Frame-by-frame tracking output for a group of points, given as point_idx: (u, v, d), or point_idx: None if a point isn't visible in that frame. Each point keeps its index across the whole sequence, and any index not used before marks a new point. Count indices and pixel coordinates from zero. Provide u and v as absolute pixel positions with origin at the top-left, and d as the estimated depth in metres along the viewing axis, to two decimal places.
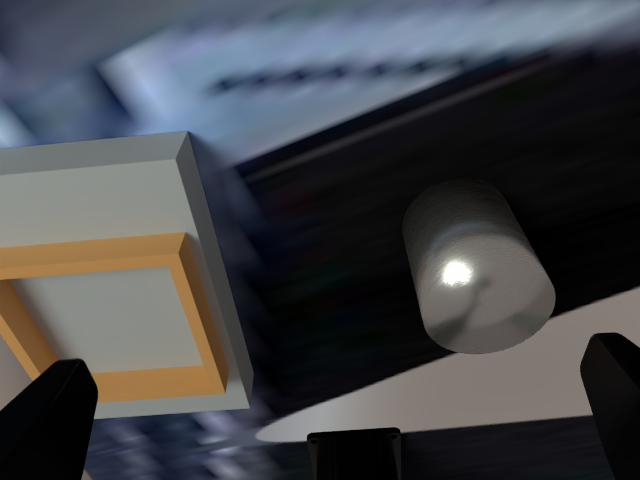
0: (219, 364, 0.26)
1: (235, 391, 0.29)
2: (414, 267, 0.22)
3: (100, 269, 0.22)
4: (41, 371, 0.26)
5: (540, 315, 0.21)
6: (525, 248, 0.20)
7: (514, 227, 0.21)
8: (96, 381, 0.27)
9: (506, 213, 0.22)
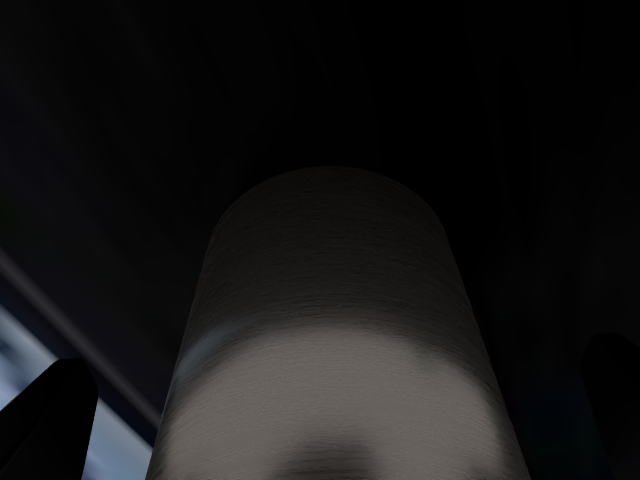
0: None
1: None
2: None
3: None
4: None
5: None
6: (164, 435, 0.06)
7: (187, 348, 0.08)
8: None
9: (198, 301, 0.08)
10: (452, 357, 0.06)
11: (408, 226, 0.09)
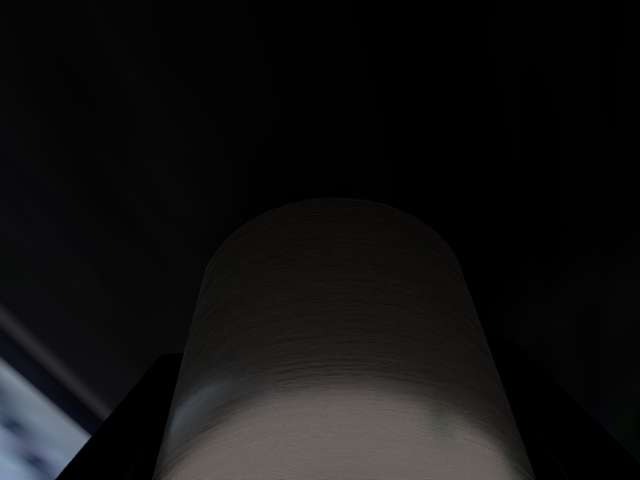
0: None
1: None
2: None
3: None
4: None
5: None
6: None
7: (176, 413, 0.07)
8: None
9: (190, 353, 0.07)
10: (479, 436, 0.06)
11: (423, 268, 0.08)
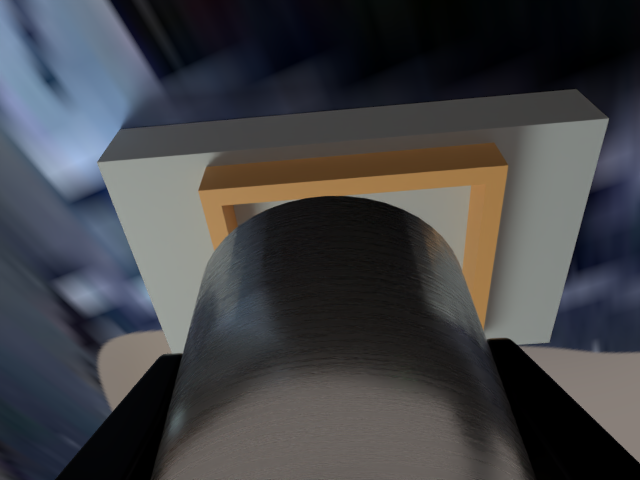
0: (444, 163, 0.16)
1: (552, 138, 0.17)
2: None
3: None
4: None
5: None
6: None
7: (175, 411, 0.07)
8: None
9: (190, 352, 0.07)
10: (478, 434, 0.06)
11: (423, 267, 0.08)
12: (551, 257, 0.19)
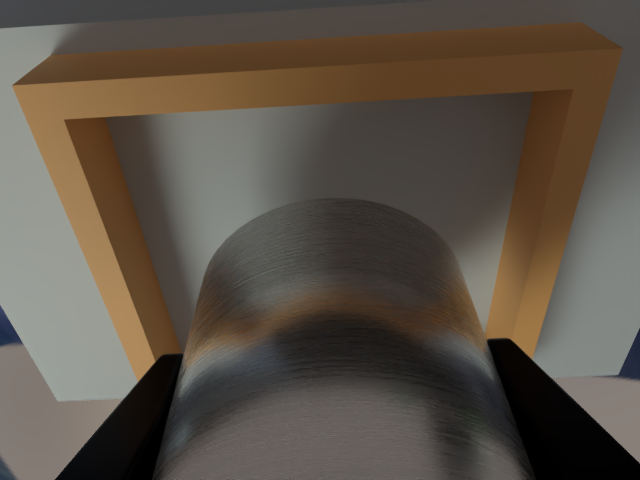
0: (494, 46, 0.08)
1: None
2: None
3: (109, 256, 0.10)
4: None
5: None
6: None
7: (176, 413, 0.07)
8: (496, 326, 0.13)
9: (190, 354, 0.07)
10: (479, 436, 0.06)
11: (423, 269, 0.08)
12: None
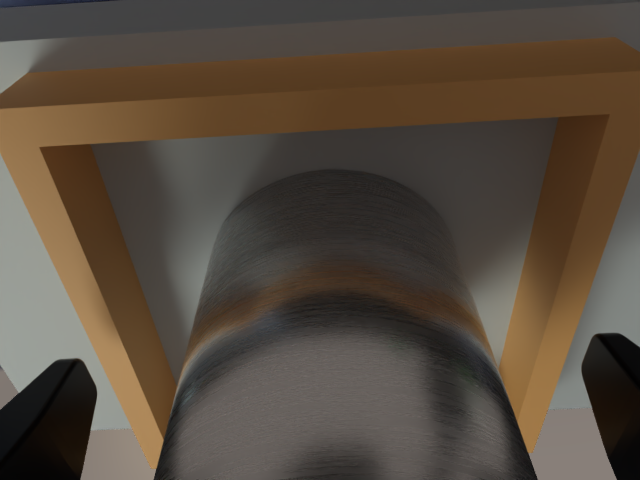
0: (521, 66, 0.07)
1: None
2: None
3: (94, 291, 0.09)
4: None
5: None
6: (171, 446, 0.06)
7: (192, 356, 0.07)
8: (513, 359, 0.12)
9: (203, 307, 0.08)
10: (461, 368, 0.06)
11: (415, 231, 0.08)
12: None
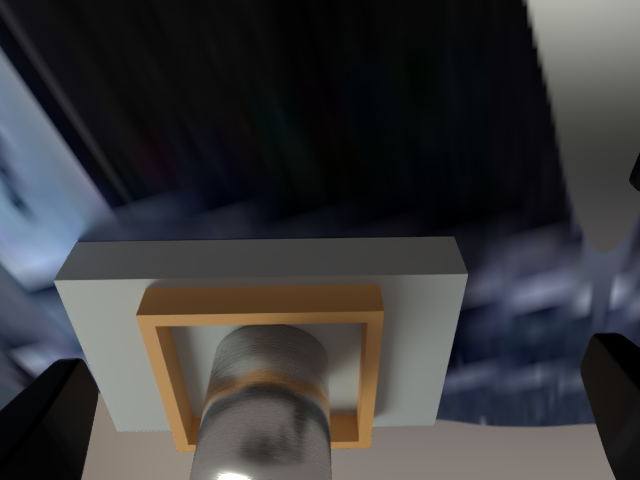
0: (336, 303, 0.20)
1: (425, 284, 0.21)
2: None
3: (165, 373, 0.21)
4: None
5: (271, 461, 0.17)
6: (203, 438, 0.19)
7: (209, 405, 0.20)
8: (358, 402, 0.24)
9: (213, 384, 0.21)
10: (303, 415, 0.19)
11: (301, 356, 0.21)
12: (431, 364, 0.24)
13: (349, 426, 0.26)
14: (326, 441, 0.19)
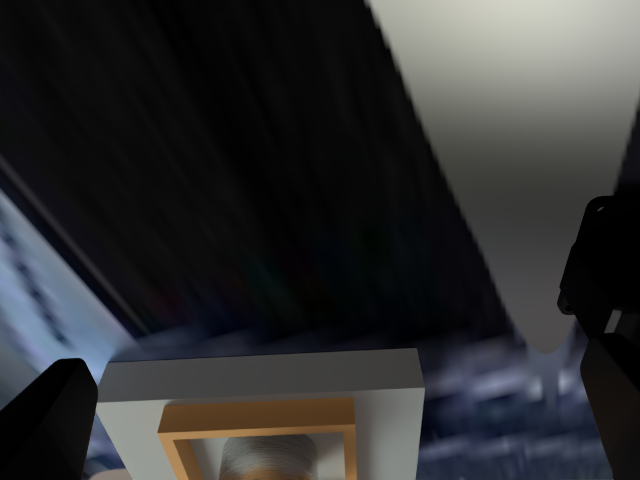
0: (316, 417, 0.25)
1: (390, 395, 0.25)
2: None
3: (183, 470, 0.26)
4: None
5: None
6: None
7: None
8: None
9: None
10: None
11: (293, 455, 0.26)
12: (404, 450, 0.28)
13: None
14: None
